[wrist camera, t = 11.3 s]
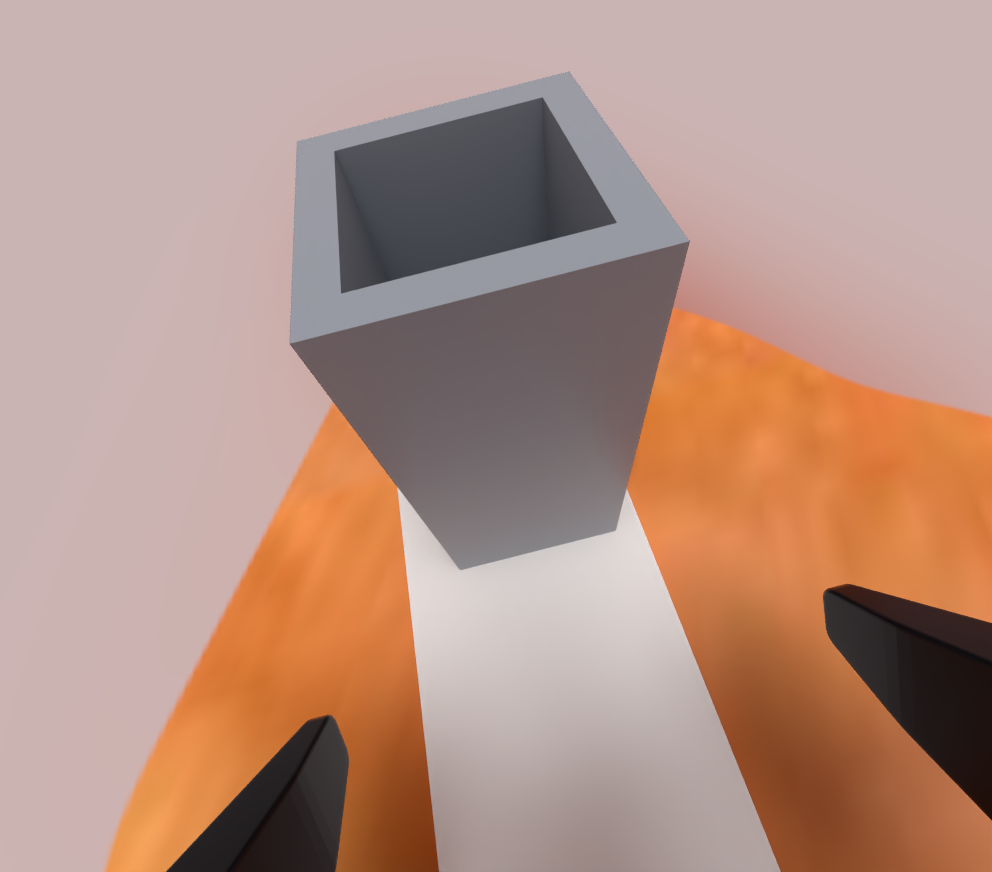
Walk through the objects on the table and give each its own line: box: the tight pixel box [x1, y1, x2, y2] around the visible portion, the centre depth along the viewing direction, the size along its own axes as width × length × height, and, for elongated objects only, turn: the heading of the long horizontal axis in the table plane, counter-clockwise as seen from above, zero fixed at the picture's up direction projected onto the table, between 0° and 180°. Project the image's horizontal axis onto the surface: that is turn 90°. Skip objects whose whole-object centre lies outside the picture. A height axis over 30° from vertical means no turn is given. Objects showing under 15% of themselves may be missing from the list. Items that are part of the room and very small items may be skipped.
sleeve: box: [290, 72, 690, 570], centre depth 14 cm, size 6×6×12 cm
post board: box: [397, 487, 781, 872], centre depth 16 cm, size 18×9×5 cm, turn 13°
